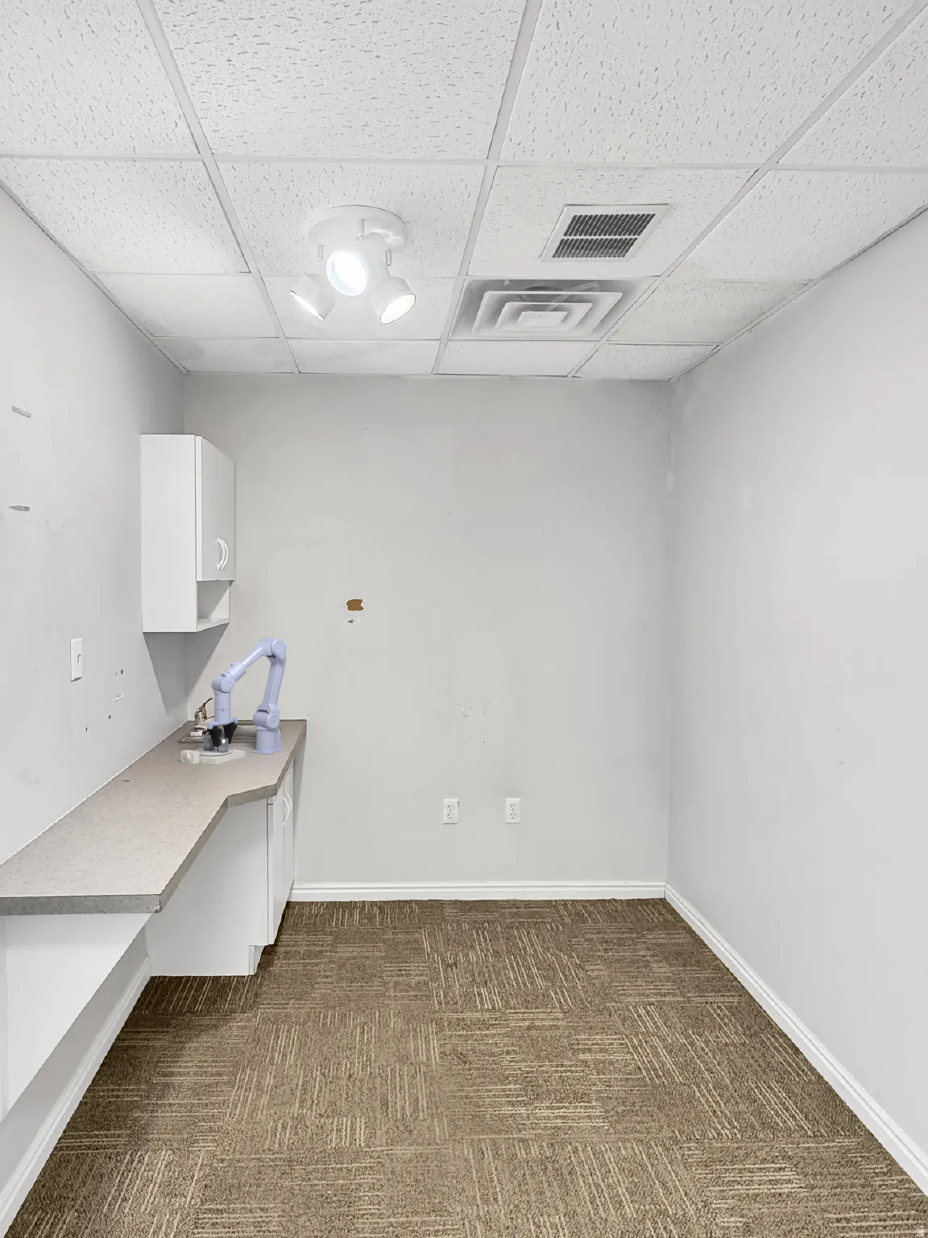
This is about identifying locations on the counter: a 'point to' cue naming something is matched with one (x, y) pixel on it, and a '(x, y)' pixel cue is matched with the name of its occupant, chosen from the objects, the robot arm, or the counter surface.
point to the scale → (210, 756)
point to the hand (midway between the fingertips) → (222, 745)
